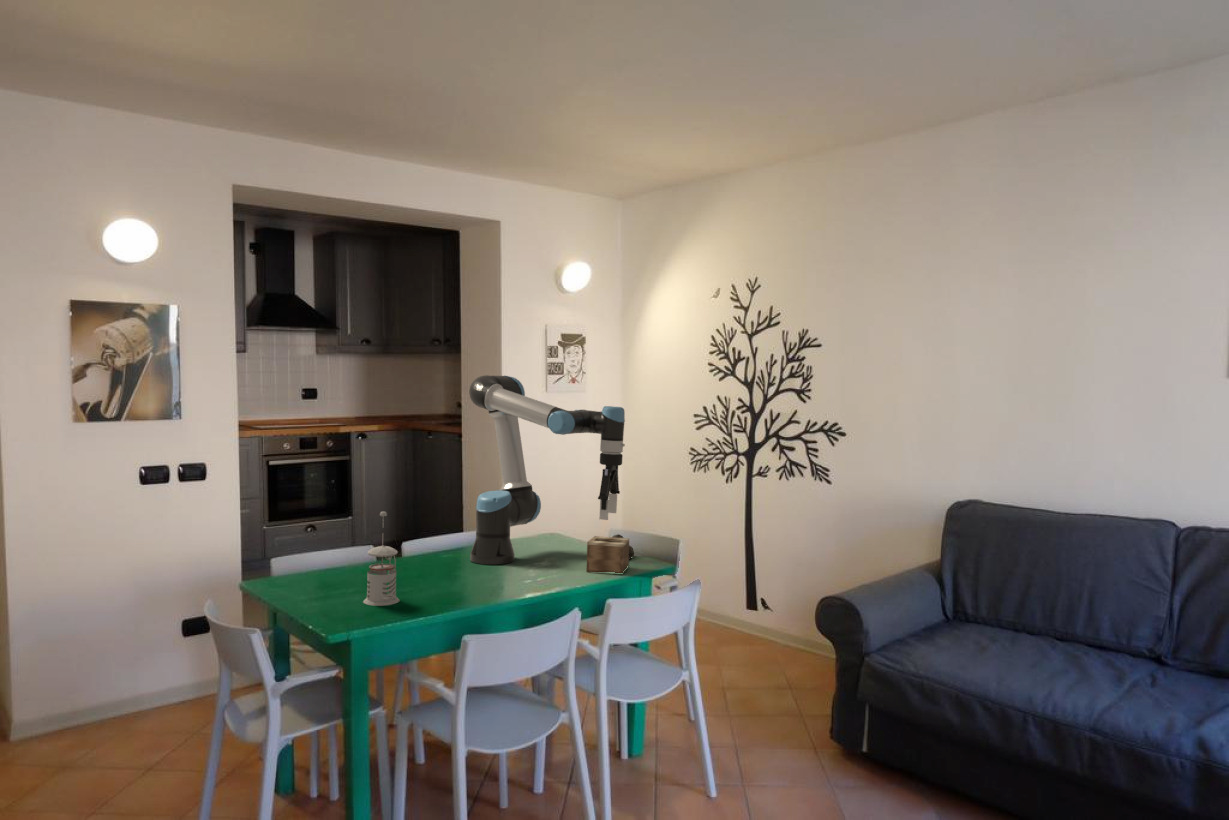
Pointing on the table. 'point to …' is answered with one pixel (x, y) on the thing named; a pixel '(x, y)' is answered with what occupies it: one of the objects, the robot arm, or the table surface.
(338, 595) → the table surface
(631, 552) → the fossil
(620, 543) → the coin box
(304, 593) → the table surface
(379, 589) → the french press
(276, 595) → the table surface
